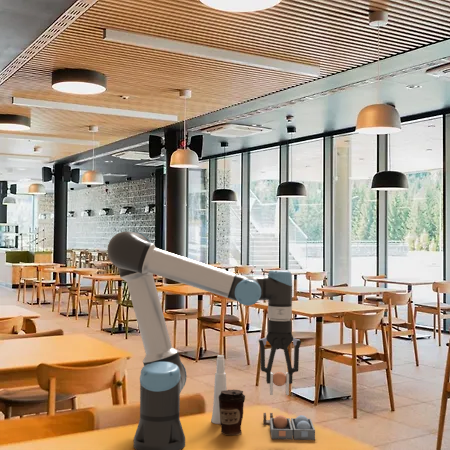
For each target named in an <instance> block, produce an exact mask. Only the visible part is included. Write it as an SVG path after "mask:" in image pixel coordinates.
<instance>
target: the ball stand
mask: <svg viewBox="0 0 450 450" xmlns="http://www.w3.org/2000/svg"><path fill="white" fill-rule="evenodd" d="M270 418H274V415H273V412H269V419H267V413H266V412H263V419H262V420H263V421H262V422H263V426H264V425H265V426H267V425H269V426H270Z"/></svg>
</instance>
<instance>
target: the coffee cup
mask: <svg viewBox="0 0 450 450" xmlns="http://www.w3.org/2000/svg"><path fill="white" fill-rule="evenodd" d="M245 400H246V395H245V394H244V391H243V390H240V389H227V390H225V391H221V394H220V395H219V410H220V423H221V424H220V432H221V434H222V435H226V436H238V435H241V434H242V423H243V418H244V417H243V416H244V407H245V406H244V403H245Z"/></svg>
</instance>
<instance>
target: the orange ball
mask: <svg viewBox="0 0 450 450" xmlns="http://www.w3.org/2000/svg"><path fill="white" fill-rule="evenodd" d="M273 385H275V386H276V387H283V386H285V385H286V373H284V372H282V371H278V372H274V373H273Z"/></svg>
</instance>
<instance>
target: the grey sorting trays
mask: <svg viewBox="0 0 450 450" xmlns="http://www.w3.org/2000/svg"><path fill="white" fill-rule="evenodd" d="M274 418H275V417H273V418H270V417H269V420H270V425H269V429H270V438H271V440H289V441H290V440H291V441H292V440H294V441H295V440H296V441H297V440H299V441H316V429H315V425H314V424H313V421H312V418H307V419H308V421H309V424H310V427H311V430H310V429H297V428H296V425H295V419H296V418H297V417H296V418H286V419H287V426H286V427H285V428H284V429H277V428H276V427H275V426H274Z"/></svg>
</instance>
